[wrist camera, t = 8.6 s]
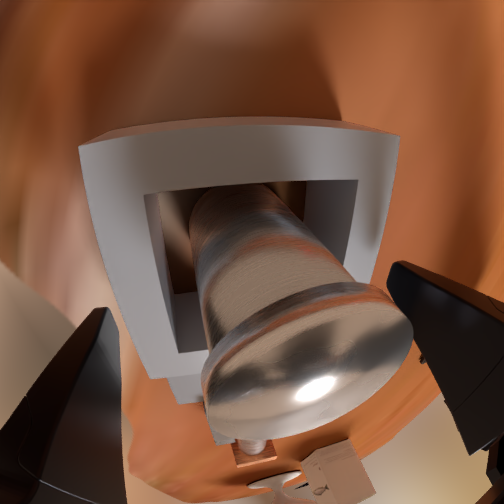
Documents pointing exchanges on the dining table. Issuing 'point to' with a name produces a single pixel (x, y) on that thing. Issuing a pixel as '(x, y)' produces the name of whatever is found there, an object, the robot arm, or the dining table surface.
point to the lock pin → (252, 451)
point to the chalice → (281, 500)
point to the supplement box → (337, 475)
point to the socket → (218, 174)
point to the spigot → (283, 320)
